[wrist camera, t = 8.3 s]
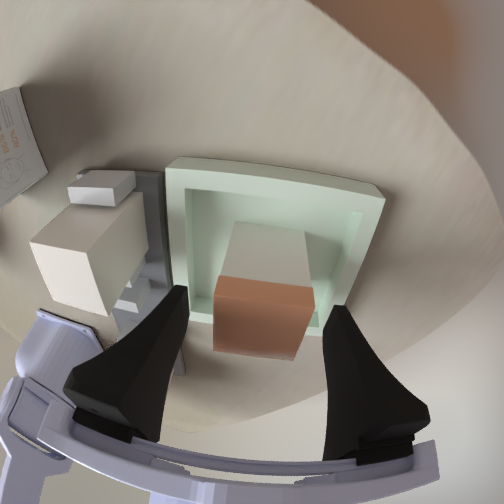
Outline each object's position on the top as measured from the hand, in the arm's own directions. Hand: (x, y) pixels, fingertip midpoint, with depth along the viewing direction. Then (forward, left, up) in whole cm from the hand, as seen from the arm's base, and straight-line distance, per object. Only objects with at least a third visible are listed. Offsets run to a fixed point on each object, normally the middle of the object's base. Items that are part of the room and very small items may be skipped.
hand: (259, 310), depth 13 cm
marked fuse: (0, 0, -5) cm, 5 cm away
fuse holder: (-9, -6, -5) cm, 12 cm away
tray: (0, 0, -5) cm, 5 cm away
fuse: (-9, +2, -4) cm, 10 cm away
